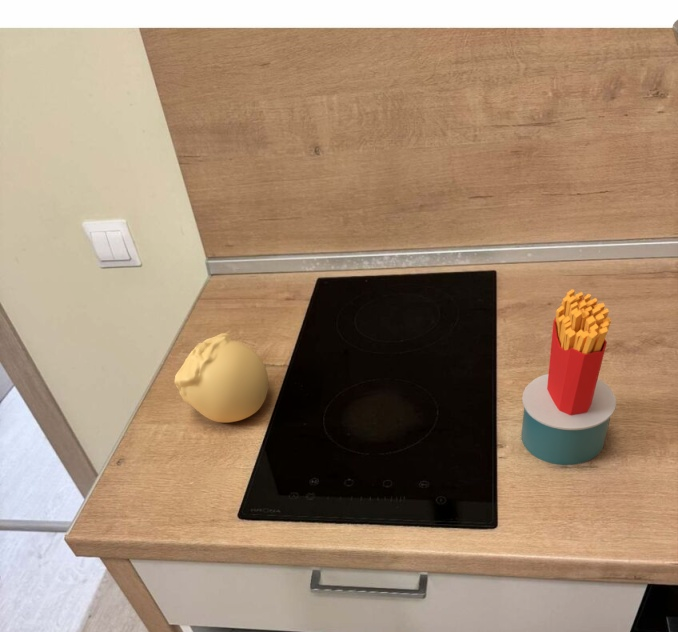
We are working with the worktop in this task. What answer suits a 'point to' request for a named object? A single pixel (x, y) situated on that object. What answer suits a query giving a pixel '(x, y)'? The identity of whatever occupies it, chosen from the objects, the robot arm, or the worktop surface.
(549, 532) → the worktop surface
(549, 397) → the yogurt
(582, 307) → the french fries
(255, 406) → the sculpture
